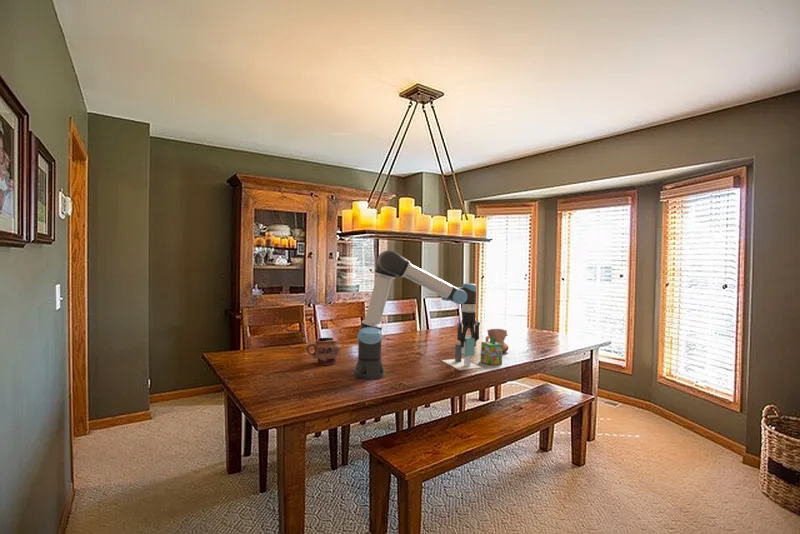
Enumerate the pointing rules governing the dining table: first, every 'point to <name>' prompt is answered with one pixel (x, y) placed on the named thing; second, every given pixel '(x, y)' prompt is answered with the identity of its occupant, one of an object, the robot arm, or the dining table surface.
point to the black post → (458, 352)
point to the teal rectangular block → (469, 346)
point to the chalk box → (491, 352)
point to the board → (460, 364)
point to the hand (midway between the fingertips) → (467, 352)
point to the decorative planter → (325, 350)
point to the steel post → (467, 361)
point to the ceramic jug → (498, 337)
